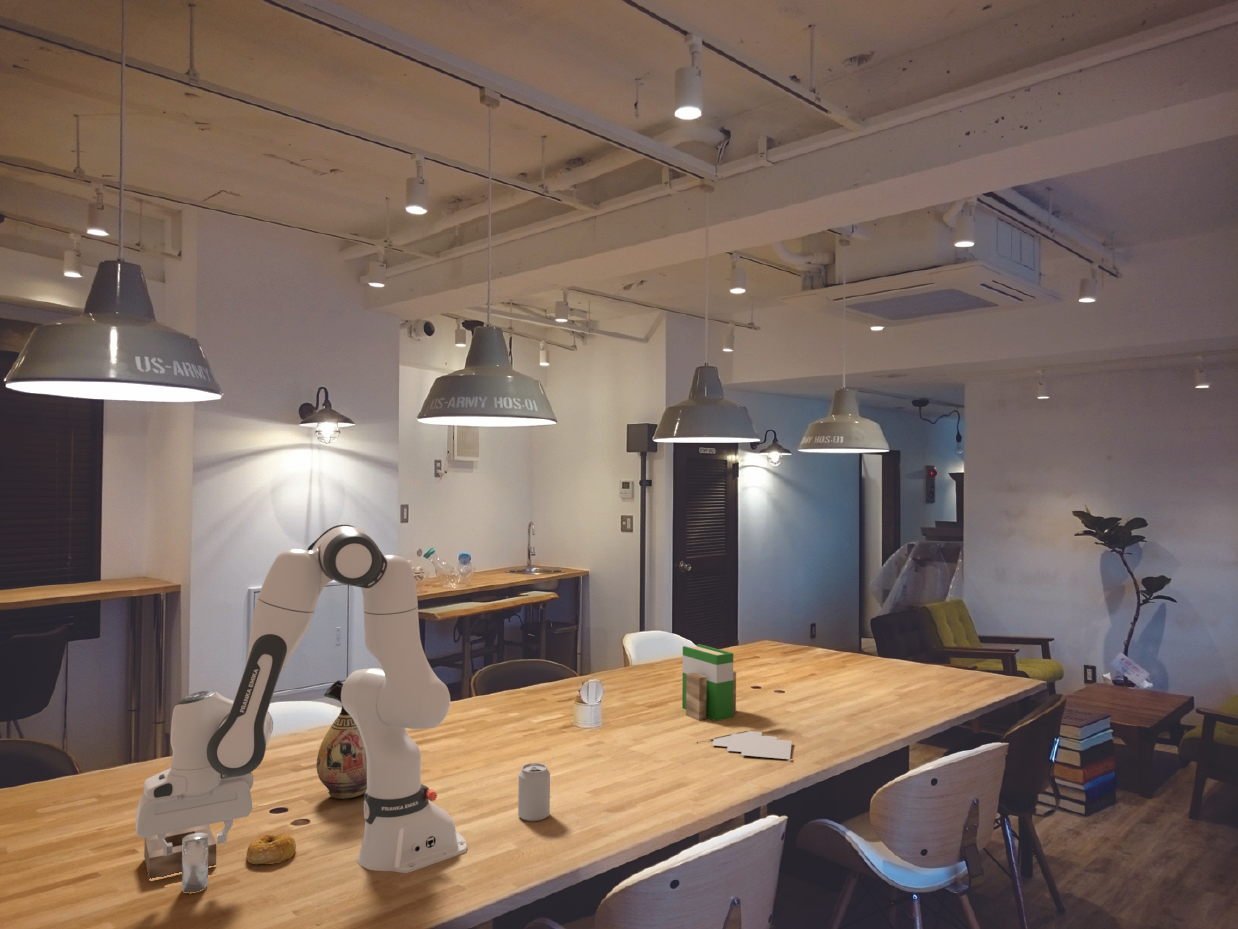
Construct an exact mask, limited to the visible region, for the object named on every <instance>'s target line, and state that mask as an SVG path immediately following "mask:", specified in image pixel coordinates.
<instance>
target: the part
mask: <svg viewBox="0 0 1238 929" xmlns="http://www.w3.org/2000/svg"><path fill="white" fill-rule="evenodd" d="M208 874H209V869H208V834H206V833H194V834H190V835H187V836H185V837H184V838H183V839H182V875H181V881H182V885H181V891H182V890H183V891H184V892H189V893H190V892H197V891H200V890H202V889H205V888H206V887H207V885H208V886H209V883H208V882H209V881H208ZM207 888H208V887H207Z"/></svg>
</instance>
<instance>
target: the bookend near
mask: <svg viewBox="0 0 1238 929" xmlns="http://www.w3.org/2000/svg"><path fill="white" fill-rule="evenodd" d="M706 681H707V677H706V676H703V675H700V674H697V673H694V672H692V673H686V709H685V716H687V717H690V718H692V719H695V720H697V721H703V720H706V719H707V717H706Z"/></svg>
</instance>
